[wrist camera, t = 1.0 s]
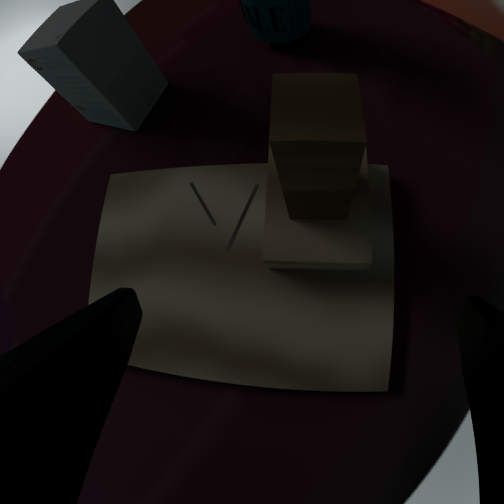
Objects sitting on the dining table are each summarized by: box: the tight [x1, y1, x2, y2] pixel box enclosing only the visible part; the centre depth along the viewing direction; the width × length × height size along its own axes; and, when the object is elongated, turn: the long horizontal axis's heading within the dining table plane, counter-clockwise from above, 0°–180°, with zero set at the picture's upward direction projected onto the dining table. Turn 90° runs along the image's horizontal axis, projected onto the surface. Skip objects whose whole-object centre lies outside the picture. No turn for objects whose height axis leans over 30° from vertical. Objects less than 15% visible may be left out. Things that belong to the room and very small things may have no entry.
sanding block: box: [262, 73, 372, 272], centre depth 15 cm, size 8×6×11 cm
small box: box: [18, 0, 169, 131], centre depth 22 cm, size 8×6×13 cm
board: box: [88, 163, 394, 392], centre depth 21 cm, size 15×22×2 cm
